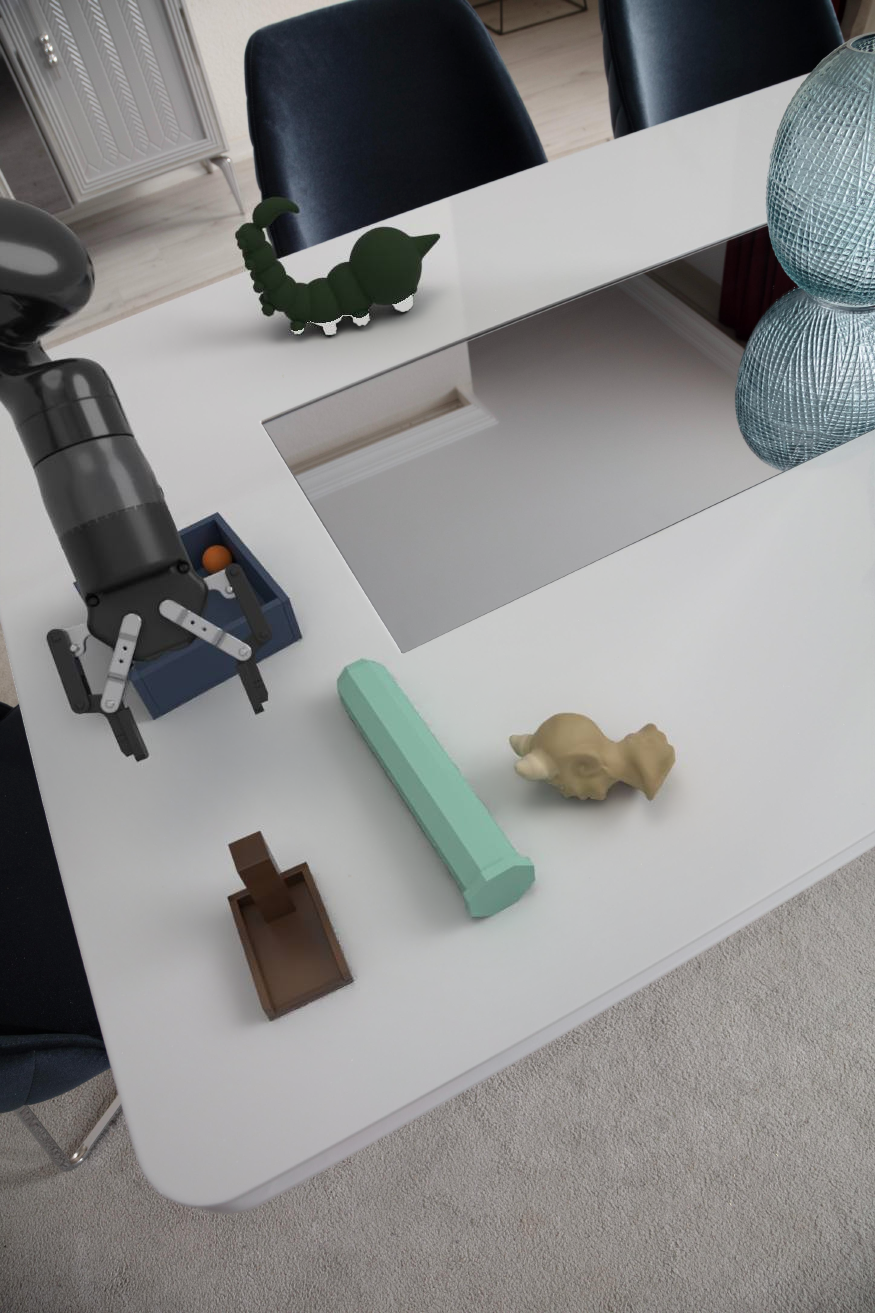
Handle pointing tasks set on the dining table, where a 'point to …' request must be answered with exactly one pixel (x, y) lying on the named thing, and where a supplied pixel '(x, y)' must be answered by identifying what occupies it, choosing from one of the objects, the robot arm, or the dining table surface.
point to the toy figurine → (333, 271)
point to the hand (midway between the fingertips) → (202, 735)
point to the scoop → (284, 930)
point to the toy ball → (216, 559)
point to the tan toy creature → (592, 757)
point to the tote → (202, 661)
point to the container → (435, 791)
